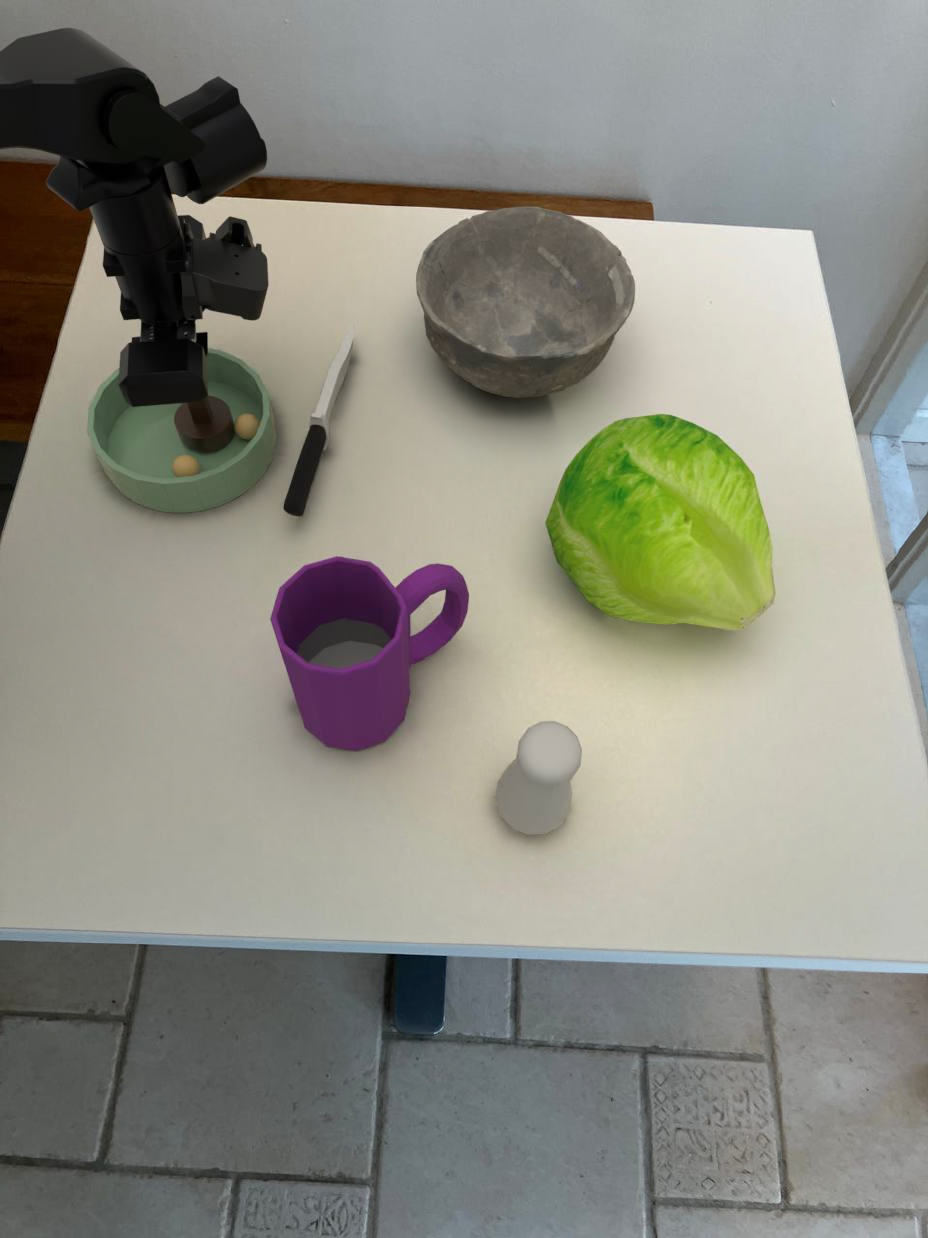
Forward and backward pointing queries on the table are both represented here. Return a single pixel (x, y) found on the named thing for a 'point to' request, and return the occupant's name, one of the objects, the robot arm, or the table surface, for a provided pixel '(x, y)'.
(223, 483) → the mixing bowl
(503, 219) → the bowl
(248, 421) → the bean
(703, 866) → the table surface
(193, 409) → the lever handle
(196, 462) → the bean
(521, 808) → the salt shaker
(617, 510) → the lettuce
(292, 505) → the knife
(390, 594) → the mug
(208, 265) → the robot arm
